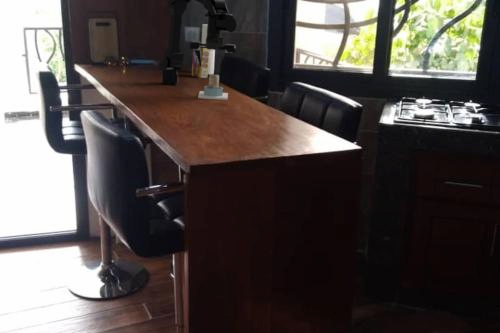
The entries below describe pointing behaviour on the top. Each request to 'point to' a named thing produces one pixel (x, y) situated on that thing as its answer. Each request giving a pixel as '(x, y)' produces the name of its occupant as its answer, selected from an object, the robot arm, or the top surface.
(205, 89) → the cup bracket
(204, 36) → the cylindrical container
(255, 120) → the top surface
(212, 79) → the rail post
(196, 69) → the candy box
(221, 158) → the top surface
